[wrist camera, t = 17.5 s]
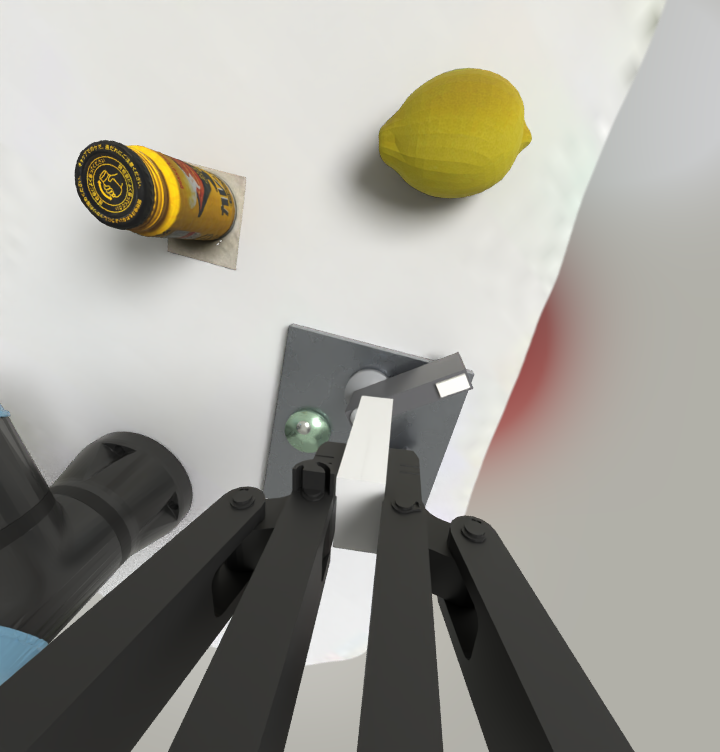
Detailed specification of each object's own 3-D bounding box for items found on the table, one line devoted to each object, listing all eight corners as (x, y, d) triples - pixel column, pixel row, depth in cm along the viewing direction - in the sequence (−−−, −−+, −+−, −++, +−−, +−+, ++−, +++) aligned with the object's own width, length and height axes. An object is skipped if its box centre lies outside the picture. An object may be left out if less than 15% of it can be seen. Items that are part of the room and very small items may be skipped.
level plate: (412, 533, 43) (412, 547, 41) (266, 490, 44) (259, 502, 42) (472, 370, 35) (475, 377, 33) (293, 323, 36) (286, 327, 34)
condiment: (246, 177, 33) (158, 138, 21) (236, 270, 36) (154, 278, 24) (173, 158, 33) (49, 110, 22) (169, 251, 36) (58, 251, 25)
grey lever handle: (358, 417, 37) (347, 449, 31) (339, 378, 36) (324, 403, 30) (468, 378, 34) (480, 406, 28) (451, 334, 33) (459, 352, 27)
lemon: (529, 105, 28) (571, 51, 20) (500, 212, 30) (528, 199, 23) (394, 88, 29) (387, 30, 21) (377, 193, 31) (366, 175, 24)
